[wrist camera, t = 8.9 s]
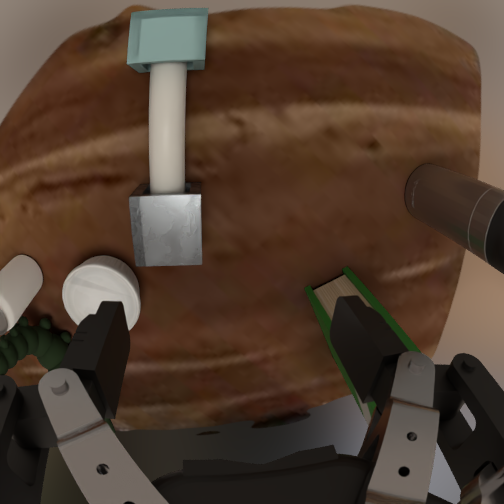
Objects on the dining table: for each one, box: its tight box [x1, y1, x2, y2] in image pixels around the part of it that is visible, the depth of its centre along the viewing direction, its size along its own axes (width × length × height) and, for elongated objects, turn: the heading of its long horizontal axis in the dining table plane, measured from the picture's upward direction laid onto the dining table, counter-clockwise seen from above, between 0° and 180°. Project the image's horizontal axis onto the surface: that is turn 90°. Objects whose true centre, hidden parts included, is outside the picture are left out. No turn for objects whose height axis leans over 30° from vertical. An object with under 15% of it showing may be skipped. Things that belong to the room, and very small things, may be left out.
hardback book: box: [304, 266, 421, 426], centre depth 39 cm, size 18×7×24 cm, turn 24°
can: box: [0, 255, 43, 335], centre depth 32 cm, size 6×6×12 cm
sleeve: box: [129, 182, 202, 266], centre depth 35 cm, size 8×8×6 cm
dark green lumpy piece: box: [0, 316, 115, 433], centre depth 37 cm, size 9×19×25 cm
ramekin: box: [62, 255, 141, 330], centre depth 38 cm, size 11×11×5 cm
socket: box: [127, 8, 208, 73], centre depth 26 cm, size 8×6×6 cm
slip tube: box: [149, 62, 187, 194], centre depth 31 cm, size 4×22×4 cm, turn 177°
